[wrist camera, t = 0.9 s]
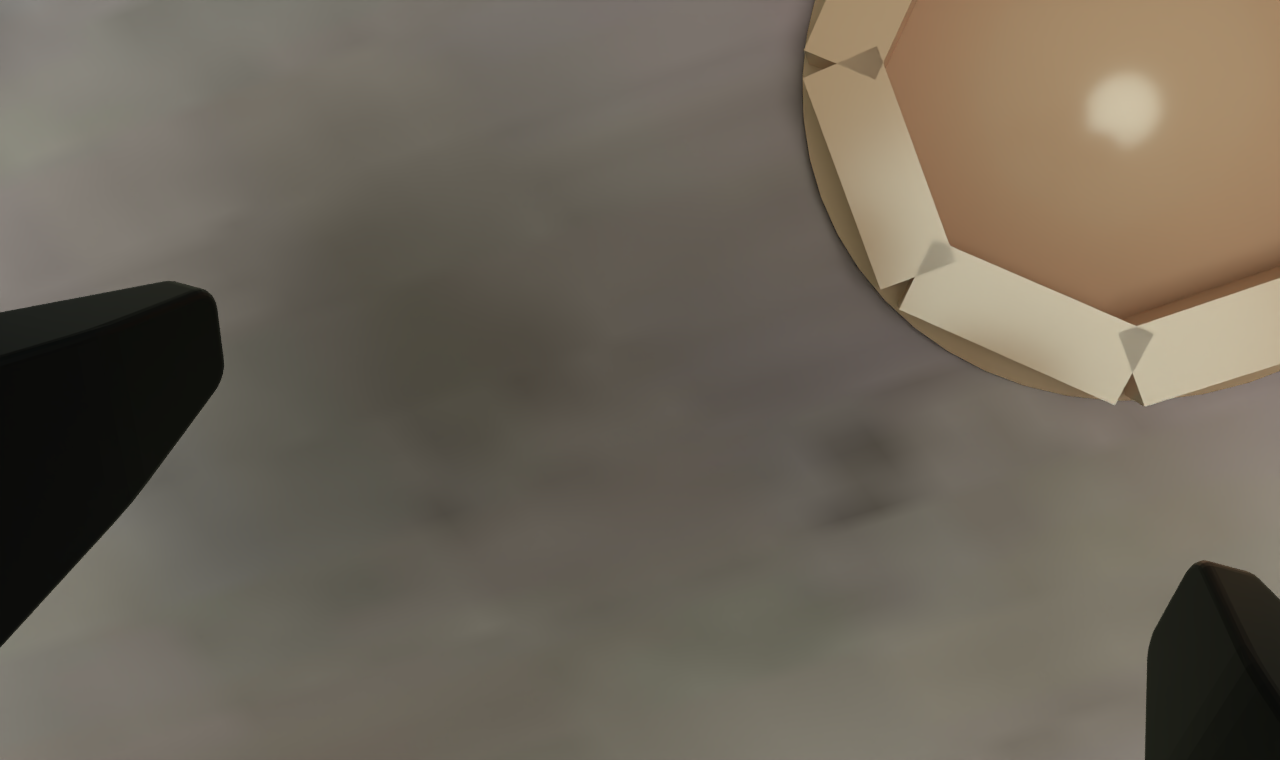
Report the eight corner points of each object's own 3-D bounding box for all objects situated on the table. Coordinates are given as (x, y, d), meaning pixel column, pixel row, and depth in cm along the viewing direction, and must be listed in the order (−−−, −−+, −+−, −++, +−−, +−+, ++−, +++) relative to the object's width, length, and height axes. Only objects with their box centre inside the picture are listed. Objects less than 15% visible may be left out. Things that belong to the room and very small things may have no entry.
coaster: (1608, 263, 19) (1692, 264, 17) (925, 478, 22) (930, 500, 20) (1381, -410, 18) (1440, -487, 17) (716, -88, 22) (701, -121, 20)
